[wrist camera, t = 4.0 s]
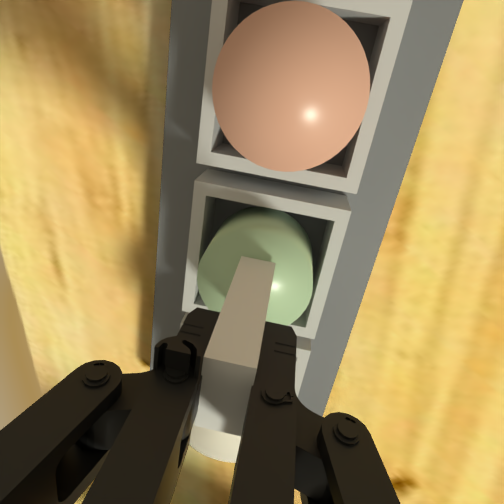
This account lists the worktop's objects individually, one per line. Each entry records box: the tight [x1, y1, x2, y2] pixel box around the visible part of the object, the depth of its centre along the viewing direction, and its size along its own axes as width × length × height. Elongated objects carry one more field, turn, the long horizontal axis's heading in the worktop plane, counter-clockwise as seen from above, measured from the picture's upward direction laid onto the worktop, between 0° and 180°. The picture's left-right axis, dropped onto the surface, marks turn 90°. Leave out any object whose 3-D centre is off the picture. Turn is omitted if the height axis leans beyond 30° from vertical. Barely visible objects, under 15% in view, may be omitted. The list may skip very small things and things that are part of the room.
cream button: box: [189, 421, 241, 462], centre depth 21 cm, size 5×5×3 cm
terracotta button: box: [212, 1, 370, 172], centre depth 14 cm, size 5×5×3 cm
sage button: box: [197, 207, 313, 326], centre depth 18 cm, size 5×5×3 cm
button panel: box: [150, 0, 463, 416], centre depth 21 cm, size 26×12×4 cm, turn 171°
